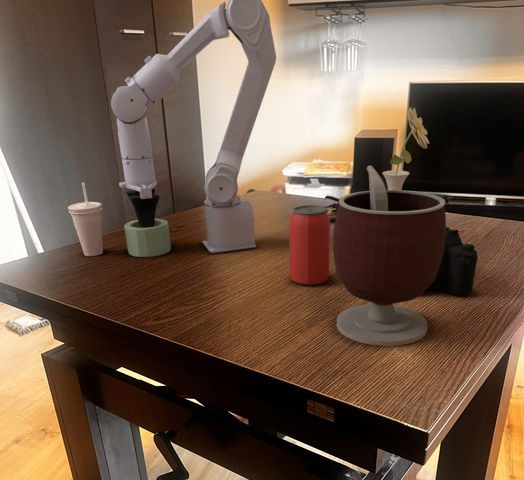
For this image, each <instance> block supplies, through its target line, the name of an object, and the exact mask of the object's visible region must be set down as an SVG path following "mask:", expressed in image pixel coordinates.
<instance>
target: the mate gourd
mask: <svg viewBox="0 0 524 480" xmlns="http://www.w3.org/2000/svg"><path fill="white" fill-rule="evenodd" d="M366 171H367V172H368V183H369V190H365V191H357V192H353V193H348V194H346V195H345V194H344V195H343V196H341V197H339V198H340V199H339V206H338V210H337V214H336V216H335V219H334V220H335V222H334V225H333V236H332V237H333V239H332V240H333V243H332V244H333V245H332V252H333V261H334V268H335V272H336V276H337V278H338V279H339V281H340V283H341V284H342V285H343V286H344V288H345V289H346V290H347V292H348V293H349V294H350V295H351V296H353V297H354V298H357V299H360V300H363V301H366V302H369V304H362V305H356V306H352V307H350V308H347V309H344V310H342V311H341V312H340V313H339V314H338V316H337V318H336V329H337V330H338V332H339V333H340V334H341V335H343V336H344V337H345V338H348V339H350V340H352V341H355V342H357V343H361V344H365V345H369V346H370V345H371V346H379V347H395V346H403V345H409V344H412V343H416V342H418V341H420V340H421V339H422V338H424V337H425V336H426V335H427V331H428V321H427V320H426V318H425V316H423V315H421V314H420V313H418V312H416V311H414V310H412V309H409V308H406V307H403V306H398V305H395V304H398V303H399V304H400V303H405V302H409V301H413V300H415V299H418V297H420V296H421V295H422V294H423V293H424V292H425V291H426V290H427V289H429V288H428V287H429V286H430V285H431V284H432V283H433V281H434V280H435V277H436V275H437V273H438V270H439V267H440V263H441V260H442V256H443V252H444V244H445V236H446V227H447V217H446V216H447V215H446V200H445V199H444V198H442V197H440V196H439V195H435V194H433V193H429V192H428V193H427V192H421V191H414V190H403V189H401V190H388V189H387V188H386V185H385V183H384V181H383V179H382V178H381V176H380V175H379V172H377V170H376V169H375V168H374V167H373V165H368V166H366ZM371 303H372V304H371Z"/></svg>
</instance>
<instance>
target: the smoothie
mask: <svg viewBox="0 0 524 480" xmlns="http://www.w3.org/2000/svg"><path fill="white" fill-rule="evenodd" d="M81 186H82V187H81V188H82V191H83V197H84V201H83V202H77V203H73V204H70V205H69V206H68V207H67V209H68V213H69V214H70V215H71V218H72V222H73V225H74V227H75V231H76V234H77V237H78V239H79V243H80V245H81V246H80V247H81V249H82V252H83V255H84V256H86V257H94V256H95V257H96V256H100V255H102V254H103V253H104V246H103V245H104V243H103V224H102V211H103V206H102V203H101V202H97V201H89V198H88V194H87V193H88V192H87V187H86V182H84V181H83V182H81Z"/></svg>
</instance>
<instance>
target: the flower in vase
mask: <svg viewBox="0 0 524 480" xmlns="http://www.w3.org/2000/svg"><path fill="white" fill-rule="evenodd" d="M407 119H408V120H407V121H408V123H409V127H410V129H411V130H410V132H409V133H408V135H407V137H406V139H405V140H404V143H403V144H402V147H401V150H400V154H399V156H398V155H397V154H395V153H394V154H393V156H392V158H391V159H390V160H389V164H390V165H393V166H396V169H395V170H386V171H383V172H382V175H383V177H384V178H385V182H386V186H387V190H403V189H402V188H403V185H404V183H405V181H406V180H407V178H408V176H409V175H410V172H409V171H406V170H399V168H400V165H401V164H402V163H403V162H405V163H406V164H410V163H411V162H412V156H411V153H410V152H409V151H408V150H406V149H405V147H406V145H407V143H408V141H409V139H410V137H411V136H412V135H413V137H414V139H415V140H416V142H417V144H418V145H419V146H420V147H421V148H423V149H428V145H429V144H430V141H429V139H428V137H427V135H428V131H427V129H426V128H425V126H424V125H423V119H422V117H418V114H417V110H416V108H415V107H413V109H412V107H411V106H410V107H409V108H408V109H407Z"/></svg>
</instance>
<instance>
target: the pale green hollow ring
mask: <svg viewBox="0 0 524 480" xmlns="http://www.w3.org/2000/svg"><path fill="white" fill-rule="evenodd" d="M123 228H124V236H125V241H126V248H127V253H128V254H129V255H130V256H131V257H137V258H150V257H157V256H162V255H165V254H167V253H169V252H170V251H171V250H172V243H171V236H170V225H169V221H168V220H166V219H163V218H155V226H154V227H148V228H141V226H140V224H139V222H138V219H135V220H132V221H128V222H126V223H125V224H124V225H123Z"/></svg>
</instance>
